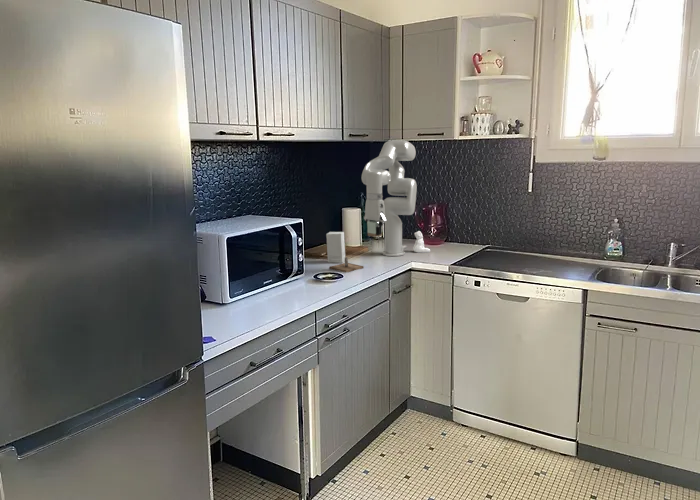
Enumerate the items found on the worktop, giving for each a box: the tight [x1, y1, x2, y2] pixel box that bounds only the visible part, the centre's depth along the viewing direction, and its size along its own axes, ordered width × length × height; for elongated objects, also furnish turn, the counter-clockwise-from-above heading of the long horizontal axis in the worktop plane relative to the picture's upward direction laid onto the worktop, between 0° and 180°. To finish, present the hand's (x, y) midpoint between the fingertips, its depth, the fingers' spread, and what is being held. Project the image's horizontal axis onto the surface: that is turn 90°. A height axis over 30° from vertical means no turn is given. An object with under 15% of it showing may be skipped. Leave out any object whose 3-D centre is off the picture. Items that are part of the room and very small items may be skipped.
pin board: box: [328, 256, 365, 273], centre depth 266 cm, size 12×12×6 cm
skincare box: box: [325, 231, 346, 264], centre depth 280 cm, size 8×7×16 cm
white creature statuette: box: [412, 230, 431, 254], centre depth 302 cm, size 10×9×12 cm
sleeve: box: [366, 221, 383, 238], centre depth 262 cm, size 5×5×7 cm
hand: (374, 233), depth 262 cm, fingers closed on sleeve, 5 cm apart
